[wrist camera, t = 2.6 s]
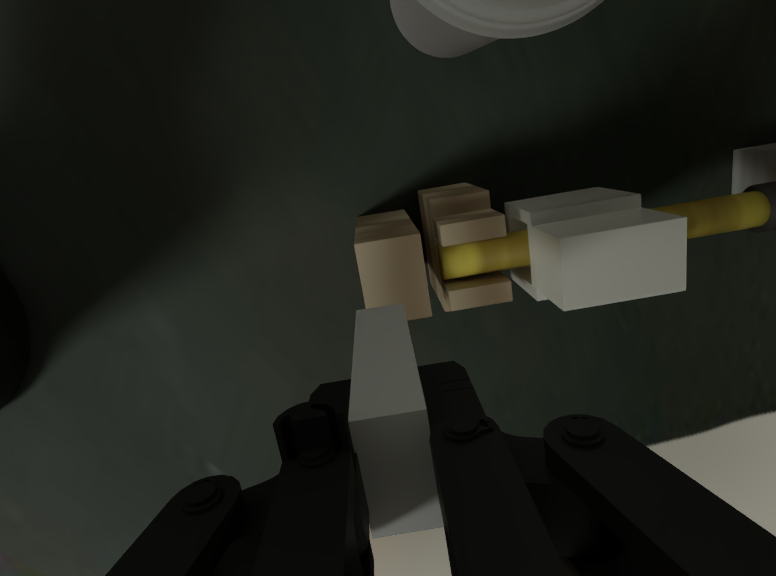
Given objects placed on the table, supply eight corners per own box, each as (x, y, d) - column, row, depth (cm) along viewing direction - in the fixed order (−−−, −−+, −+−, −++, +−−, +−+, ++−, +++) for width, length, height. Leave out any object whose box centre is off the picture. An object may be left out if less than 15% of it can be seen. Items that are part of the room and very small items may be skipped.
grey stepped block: (511, 278, 27) (564, 325, 20) (504, 202, 25) (558, 223, 18) (599, 263, 27) (685, 304, 20) (597, 186, 25) (687, 201, 18)
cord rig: (370, 292, 32) (373, 350, 22) (353, 201, 30) (349, 224, 21) (790, 220, 32) (962, 250, 23) (797, 126, 30) (986, 116, 21)
